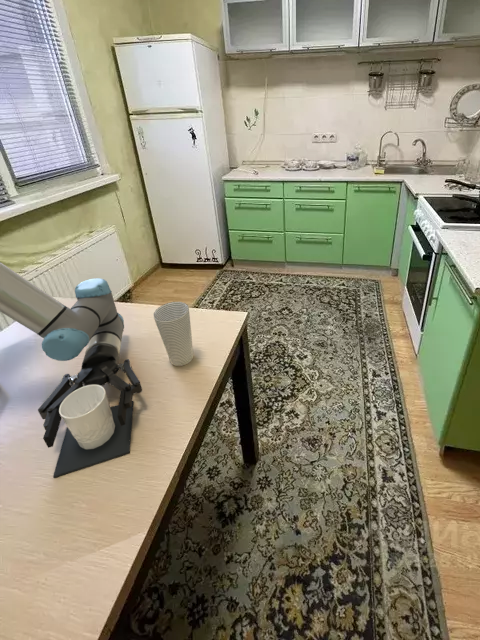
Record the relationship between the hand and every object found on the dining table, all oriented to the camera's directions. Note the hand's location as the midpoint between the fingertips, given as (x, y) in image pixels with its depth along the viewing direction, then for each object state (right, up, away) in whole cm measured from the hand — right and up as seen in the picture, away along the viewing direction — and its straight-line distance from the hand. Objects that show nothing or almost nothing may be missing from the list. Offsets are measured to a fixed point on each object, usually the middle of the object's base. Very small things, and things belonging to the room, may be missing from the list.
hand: (85, 431), depth 62 cm
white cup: (-1, -4, +6) cm, 7 cm away
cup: (+10, +6, +26) cm, 28 cm away
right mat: (-1, -4, +6) cm, 7 cm away
